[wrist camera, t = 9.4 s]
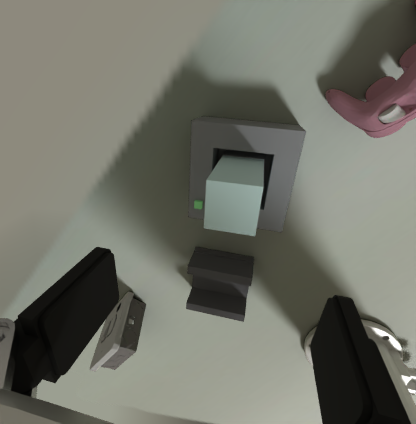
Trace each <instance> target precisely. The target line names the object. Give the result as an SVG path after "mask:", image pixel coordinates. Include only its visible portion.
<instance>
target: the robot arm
mask: <svg viewBox="0 0 416 424" xmlns="http://www.w3.org/2000/svg"><path fill="white" fill-rule="evenodd" d="M118 300H119V291H118V283H117V275H116V267H115V260H114V254H113V253H111V250H110V249H106V248H101V247H96V248H95V249H93V250H92V251H91V252H90V253H89V254H88V255H87V256H85V257H84V258H83V259H82V260H81V261H80V262H79V263H77V264H76V265H75V266H74V267H73V268H72V269H71V270H69V271H68V272H67V273H66V274H65V275H64V276H63V277H61V278H60V279H59V280H58V281H57V282H56V283H55V284H53V285H52V286H51V287H50V288H49V289H48V290H47V291H45V292H44V293H43V294H42V295H41V296H40V297H39V298H38V299H36V300H35V301H34V302H33V303H32V304H31V305H30V306H28V307H27V308H26V309H25V310H24V311H23V312H22V313H20V314H19V315H18V319H16V320H15V321H14V322H13V321H12V320H10V319H8V318H0V424H113V423H110V422H107V421H104V420H101V419H98V418H95V417H92V416H89V415H86V414H83V413H80V412H77V411H73V410H71V409H68V408H65V407H61V406H58V405H55V404H52V403H49V402H46V401H43V400H39V399H36V394H37V385H38V384H39V383H40V382H41V380H42V379H43V380H46V381H50V382H53V383H56V382H57V380H58V379H59V377H60V376H61V375H64V374H66V373H67V372H68V370H69V369H70V368H71V366H72V365H73V363H74V362H75V361H76V359H77V358H78V357H79V355H80V354H81V352H82V351H83V350H84V348H85V347H86V346H87V344H88V343H89V341H90V340H91V339H92V337H93V336H94V335H95V333H96V332H97V331H98V329H99V328H100V326H101V325H102V324H103V322H104V321H105V320H106V318H107V317H108V315H109V314H110V313H111V311H112V310H113V309H114V307H115V306H116V304H117V303H118ZM304 349H305V355H306V358H307V360H308V361H309V363H310V364H311V365H312V366H313V369H314V375H315V381H316V387H317V393H318V398H319V404H320V410H321V416H322V422H323V424H416V405H415V403H414V401H413V399H412V397H411V395H410V394H412V395H416V369H415V368H413V369H412V368H408V367H407V366H406V365H405V364H404V363H403V361H402V359H403V350H402V347H401V345H400V343H399V341H398V339H397V338H396V336H395V335H394V334H393V333H392V332H391V331H389V330H388V329H387V328H385V327H383V326H381V325H380V324H377V323H374V322H371V321H368V320H363V319H361V318H360V316H359V314H358V311H357V309H356V306H355V304H354V302H353V300H352V299H351V298H348V297H343V296H338V295H334V296H333V298H328V300H327V303H326V305H325V308H324V310H323V313H322V315H321V318H320V320H319V323H318V325H317V327H315V328H314V329H313V330H311V331H310V333H309V334H308V335H307V337H306V339H305V342H304Z"/></svg>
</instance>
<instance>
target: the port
mask: <svg viewBox="0 0 416 424" xmlns="http://www.w3.org/2000/svg"><path fill="white" fill-rule="evenodd" d="M305 134H306V131H305V130H304V129H303V128H302V127H301V126H300V125H293V124H283V123H272V122H261V121H250V120H240V119H229V118H218V117H208V116H202V117H199V118H196V119H194V120H191V151H190V181H189V212H188V217H190V218H196V219H202V220H204V215H205V196H206V180H207V178H208V177H209V175H210V174H211V172H212V171H213V169H214V168H215V166H216V165H217V163H218V162H219V160H220V159H221V157H222V155H223V153H224V152H225V150H235V151H244V152H254V153H264V154H265V161H264V187H263V193H262V199H261V205H260V211H259V217H258V223H257V228H258V229H264V230H270V231H276V232H282V230H283V225H284V221H285V217H286V213H287V209H288V205H289V201H290V196H291V192H292V188H293V184H294V180H295V176H296V172H297V167H298V163H299V159H300V155H301V151H302V147H303V143H304V138H305Z"/></svg>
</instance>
